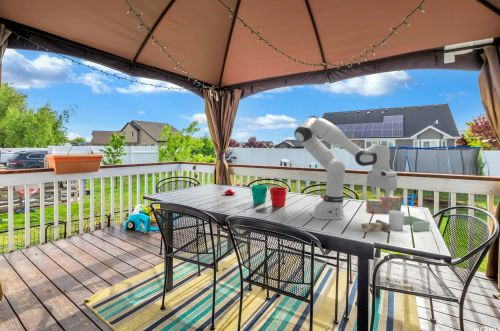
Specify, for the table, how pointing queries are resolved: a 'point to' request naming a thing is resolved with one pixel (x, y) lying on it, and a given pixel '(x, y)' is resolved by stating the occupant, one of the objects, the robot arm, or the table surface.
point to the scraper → (375, 226)
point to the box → (417, 223)
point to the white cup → (396, 219)
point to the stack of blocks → (383, 204)
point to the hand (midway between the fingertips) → (380, 195)
